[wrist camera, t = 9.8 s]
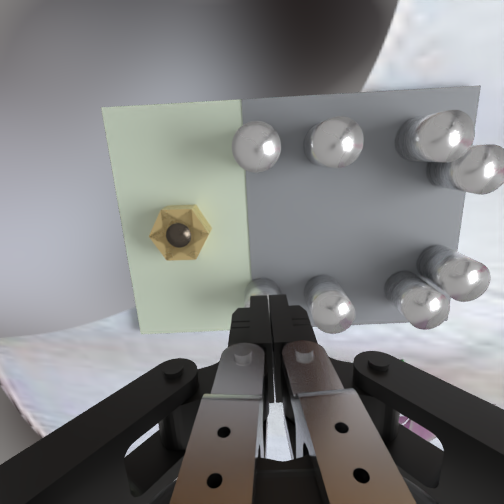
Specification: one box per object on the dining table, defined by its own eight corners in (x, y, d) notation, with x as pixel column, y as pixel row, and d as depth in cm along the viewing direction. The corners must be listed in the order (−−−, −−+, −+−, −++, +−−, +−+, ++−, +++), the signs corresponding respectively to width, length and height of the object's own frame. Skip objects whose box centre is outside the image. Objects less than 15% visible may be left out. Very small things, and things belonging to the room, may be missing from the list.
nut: (153, 205, 30) (145, 210, 27) (210, 204, 30) (206, 208, 27) (159, 253, 31) (151, 261, 29) (213, 251, 31) (210, 259, 29)
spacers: (233, 127, 28) (230, 122, 23) (474, 114, 27) (521, 105, 23) (245, 310, 33) (244, 337, 28) (448, 301, 32) (481, 326, 28)
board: (105, 108, 28) (100, 107, 27) (472, 87, 28) (480, 85, 27) (143, 329, 35) (140, 334, 34) (441, 315, 34) (447, 320, 33)
